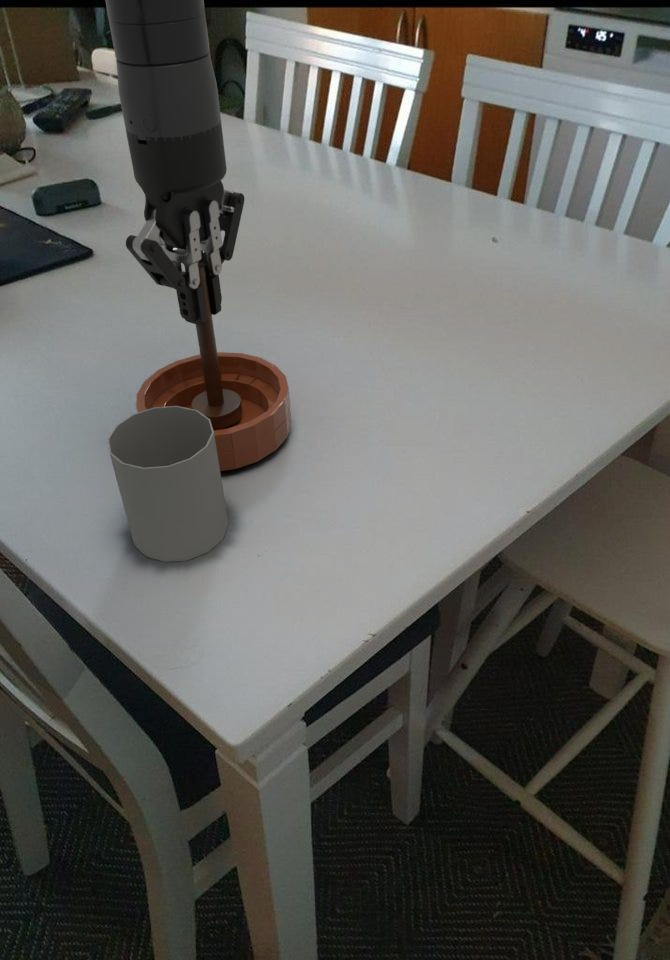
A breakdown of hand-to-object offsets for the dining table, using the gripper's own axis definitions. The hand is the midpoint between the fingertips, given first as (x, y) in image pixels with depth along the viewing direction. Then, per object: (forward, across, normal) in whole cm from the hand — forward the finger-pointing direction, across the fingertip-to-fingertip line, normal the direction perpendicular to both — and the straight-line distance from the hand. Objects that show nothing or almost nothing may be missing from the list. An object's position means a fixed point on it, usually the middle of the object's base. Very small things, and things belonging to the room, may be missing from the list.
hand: (202, 316), depth 75 cm
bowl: (+12, +1, +1) cm, 12 cm away
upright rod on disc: (+11, 0, 0) cm, 11 cm away
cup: (+13, +14, +7) cm, 20 cm away
